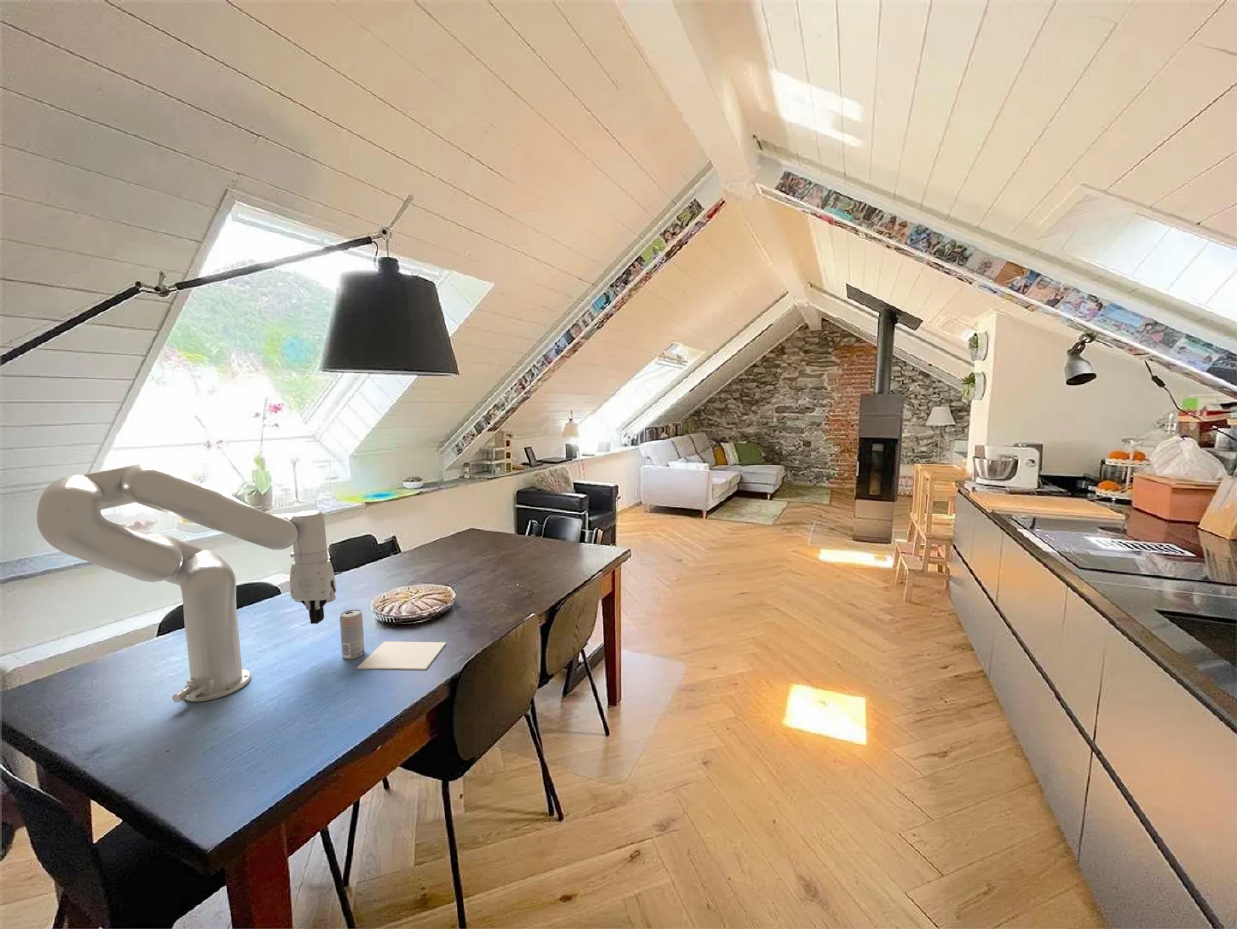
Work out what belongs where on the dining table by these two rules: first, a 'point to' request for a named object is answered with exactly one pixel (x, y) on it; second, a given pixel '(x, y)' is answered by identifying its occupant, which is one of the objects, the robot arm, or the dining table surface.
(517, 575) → the dining table surface
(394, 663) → the mat
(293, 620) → the dining table surface
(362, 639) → the energy drink
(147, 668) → the dining table surface
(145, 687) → the dining table surface
